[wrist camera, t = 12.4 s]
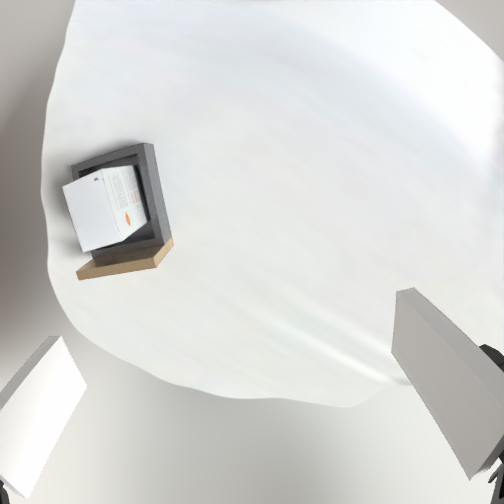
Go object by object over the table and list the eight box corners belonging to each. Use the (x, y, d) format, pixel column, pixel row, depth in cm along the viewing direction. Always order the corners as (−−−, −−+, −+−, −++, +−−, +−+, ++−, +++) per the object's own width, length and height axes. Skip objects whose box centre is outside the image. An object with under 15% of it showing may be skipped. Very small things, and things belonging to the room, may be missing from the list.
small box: (101, 177, 36) (60, 185, 26) (136, 163, 36) (100, 167, 26) (117, 231, 39) (81, 254, 29) (152, 220, 39) (122, 241, 28)
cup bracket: (153, 144, 36) (128, 141, 28) (173, 245, 41) (156, 267, 32) (85, 164, 37) (50, 168, 28) (106, 257, 41) (78, 280, 32)
